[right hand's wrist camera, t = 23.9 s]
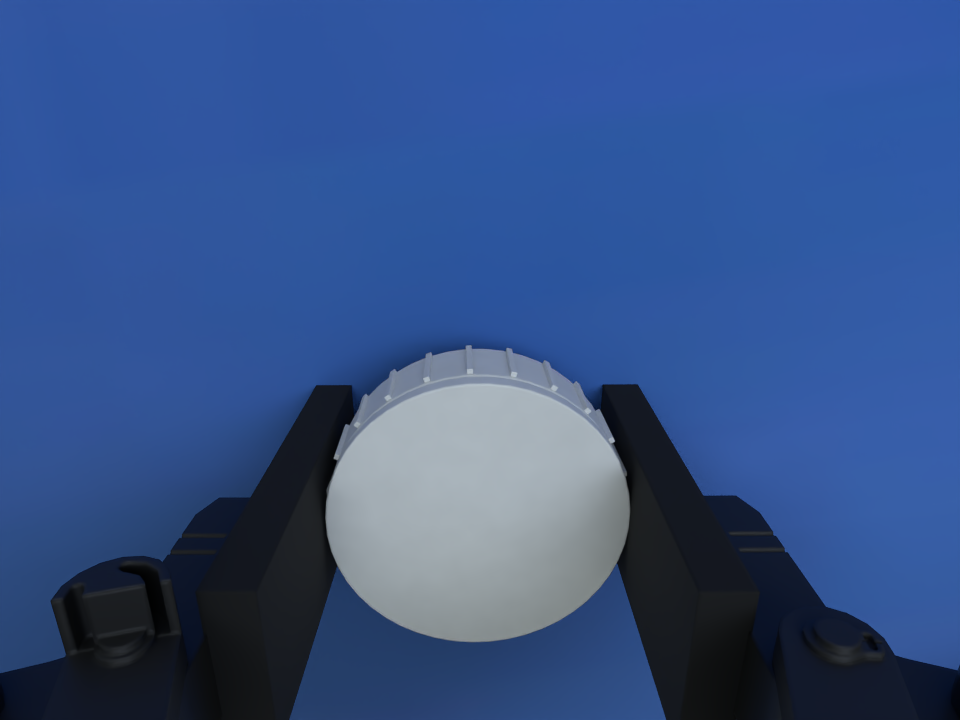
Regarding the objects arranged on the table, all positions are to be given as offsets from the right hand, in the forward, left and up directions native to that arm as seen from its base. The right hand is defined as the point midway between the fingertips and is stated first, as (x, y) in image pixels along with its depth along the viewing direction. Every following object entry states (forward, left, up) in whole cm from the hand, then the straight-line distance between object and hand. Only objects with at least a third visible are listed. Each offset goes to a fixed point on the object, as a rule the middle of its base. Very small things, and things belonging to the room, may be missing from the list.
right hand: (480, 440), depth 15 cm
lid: (0, 0, +3) cm, 3 cm away
